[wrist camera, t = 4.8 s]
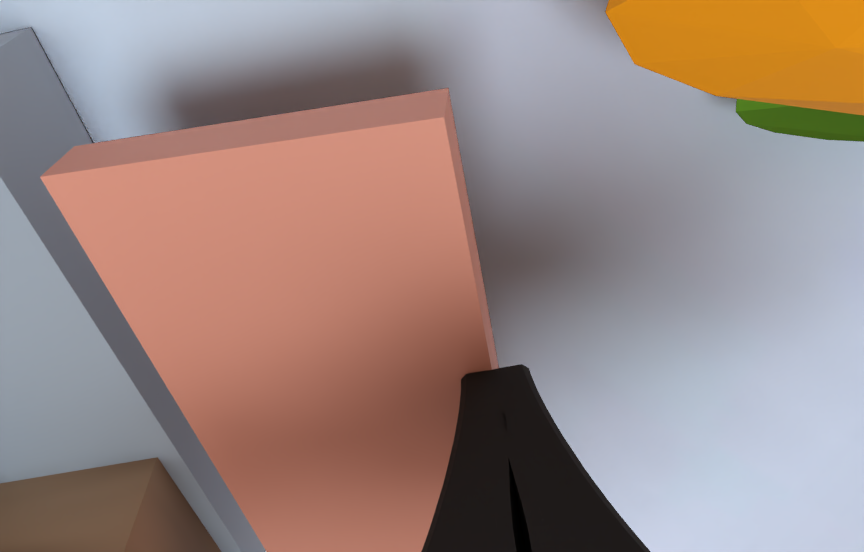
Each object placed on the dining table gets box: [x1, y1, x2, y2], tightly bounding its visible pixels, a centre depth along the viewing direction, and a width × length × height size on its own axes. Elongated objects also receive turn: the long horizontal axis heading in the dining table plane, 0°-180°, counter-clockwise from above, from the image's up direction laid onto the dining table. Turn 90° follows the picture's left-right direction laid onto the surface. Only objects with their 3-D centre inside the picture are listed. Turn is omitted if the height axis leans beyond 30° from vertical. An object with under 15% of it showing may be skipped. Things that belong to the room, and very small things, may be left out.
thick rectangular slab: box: [40, 88, 499, 552], centre depth 13 cm, size 11×1×6 cm
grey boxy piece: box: [0, 28, 266, 552], centre depth 14 cm, size 16×5×6 cm, turn 11°
